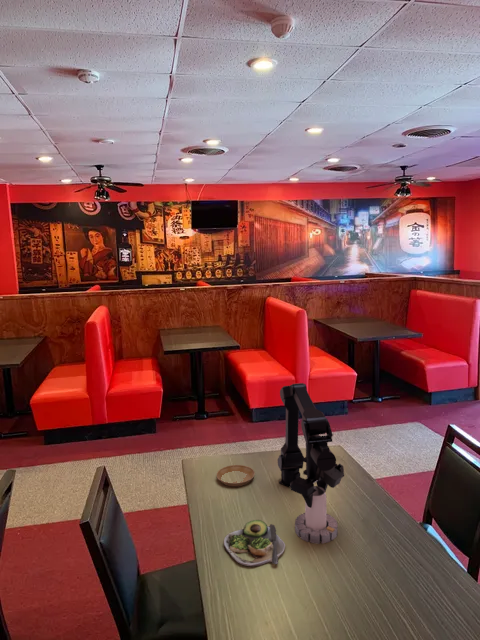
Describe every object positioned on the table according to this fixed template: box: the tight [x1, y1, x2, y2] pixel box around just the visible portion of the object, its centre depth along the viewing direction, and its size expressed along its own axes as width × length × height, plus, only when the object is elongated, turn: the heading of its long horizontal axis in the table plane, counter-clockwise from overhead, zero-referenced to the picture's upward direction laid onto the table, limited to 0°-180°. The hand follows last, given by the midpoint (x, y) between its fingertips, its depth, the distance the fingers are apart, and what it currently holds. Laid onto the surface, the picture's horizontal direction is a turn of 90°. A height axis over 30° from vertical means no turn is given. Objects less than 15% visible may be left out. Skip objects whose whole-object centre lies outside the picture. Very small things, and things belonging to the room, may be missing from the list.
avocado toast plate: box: [223, 519, 286, 567], centre depth 137 cm, size 19×18×5 cm
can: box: [304, 485, 327, 531], centre depth 145 cm, size 6×6×12 cm
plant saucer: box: [216, 464, 256, 487], centre depth 179 cm, size 15×15×3 cm
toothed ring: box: [294, 512, 338, 545], centre depth 145 cm, size 13×13×3 cm
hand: (315, 502), depth 144 cm, fingers closed on can, 6 cm apart
